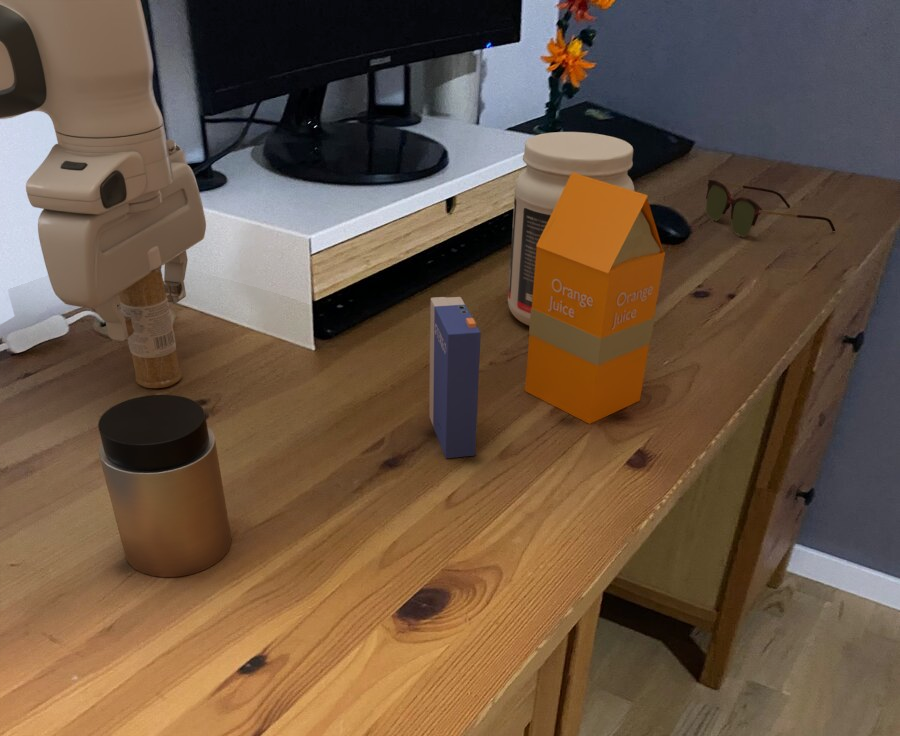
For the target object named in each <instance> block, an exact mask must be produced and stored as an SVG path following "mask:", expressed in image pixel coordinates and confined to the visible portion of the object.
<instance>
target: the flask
mask: <svg viewBox="0 0 900 736" xmlns="http://www.w3.org/2000/svg"><path fill="white" fill-rule="evenodd" d="M97 428H98V433H99V436H100V440H101V443H100V445H99V448H98V456H99V460H100V464H101V468H102V471H103V472H102V473H103V476H104V480H105V484H106V487H107V492H108V494H109V499H110V503H111V506H112V510H113V514H114V518H115V522H116V526H117V530H118V534H119V538H120V542H121V546H122V550H123V553H124V556H125V560H126V561H127V563H128V565H130V566H131V567H132V568H133V569H135V570H136V571H138V572H140V573H143V574H145V575H148V576H152V577H158V578H180V577H185V576H190V575H193V574H197V573H200V572H202V571H205V570H208V569H209V568H211V567H213V566H214V565H216V564H217V563H219V562H220V561H221V560H222V559H223V558H224V557H225V556H226V555H227V553H228V552H229V550H230V548H231V545H232V534H231V529H230V522H229V517H228V510H227V504H226V498H225V497H226V496H225V492H224V486H223V485H224V484H223V479H222V473H221V467H220V461H219V460H220V459H219V455H218V449H217V448H218V447H217V442H216V436H215V434H214V432H213V431H212V429H211V428H210V427H209V426H208V422H207V417H206V411H205V409H204V407H203V406H202V405H201V404H200V403H198V401H195V400H193V399H191V398H189V397H185V396H181V395H175V394H149V395H143V396H142V395H141V396H137V397H133V398H130V399H126V400H124V401H121V402H118V403H117V404H115V405H113V406H112V407H110V408H108V409H107V410H106V411H105V412H104V413H102V415H101V416H100V418H99V420H98V424H97Z"/></svg>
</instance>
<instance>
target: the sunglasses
mask: <svg viewBox="0 0 900 736" xmlns="http://www.w3.org/2000/svg"><path fill="white" fill-rule="evenodd" d="M706 184H707V191H706V195H705V199H706V203H705V213H706V215H707V217H708V218H709V219H710V220H711V221H714V220H715V221H714V222H717V221H719V220H720V219H721V218H722V216H723V215H725V214H726V213H727V211H728V210H729V209H731V210H730V220H731V229H732V231H733V233H734V232H736V233H738V234H739V235H741V236H742V237H741V238H744V237H747V236H748V234H749V233H750V232H751V229H752V227H755V225H756V223H757V220H758V218H759V215H761V214H763V215H774V216H783V217H790V218H797V219H798V218H800V219H810V220H811V219H812V220H821V221H826V222H828V224H829V226H830V228H831V231H832V232H833V231H835V232H836V228H835V226H834V224H833V221H832V220H831V219H830V218H828V217H824V216H817V215H807V214H806V215H805V214H793V213H786V212H779V211H772V210H766V209H765V210H764V209H763V208H762V207H761V206H760V205H759V203H757V202H756V201H755V200H753V199H751V198H749V197H737V198H735V199H734V198H733V197H732V195H731V192H730V190H729V189H728V188H727V187H732V188H733V187H734V188H739V189H747V190H754V191H760V192H765V193H771V194H775V195H777V196H778V197H779V198H780V199H781V200H782V202H783V203H784V204H785V206H786V207H787V208H788V209H790V208H791V205H790V204H789V203H788V201H787V200H786V198H785V197H784V195H782V194H781V193H780V192H778V191H775V190H772V189H768V188H763V187H757V186H750V185H749V186H748V185H743V184H735V183H729V182H721V181H717V180H714V179H708V180H707V183H706ZM711 218H712V219H711ZM713 219H714V220H713ZM736 233H734V234H735V235H736V236H737V237H740V236H739V235H737V234H736Z"/></svg>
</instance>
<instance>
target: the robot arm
mask: <svg viewBox="0 0 900 736" xmlns="http://www.w3.org/2000/svg"><path fill="white" fill-rule="evenodd" d="M142 5H143V4H142V1H141V0H0V120H8V119H13V118H15V117H18V116H19V117H20V116H22V115H24V114H27V113H30V112H31V113H32V112H40V113H44V114H46V115H47V116H48V117H49V118H50V120H51V122H52V126H53V128H54V132H55V136H56V137H55V138H56V141H57V143H55V144H54V145H53V146H52V147H51V149H50V150H49V152H48V154H47V155H46V157H45V159H44V160H43V161H42V163H40V165H39V166H38V168H37V169H36V170H35V171H34V172H32V174H31V176H29V178H28V179H27V181H26V183H25V192H26V195H27V199H28V202H29V203H30V205H31V206H32V207H33V208H37V209H42V210H41V212H40V214H39V216H38V222H37V234H38V239H39V245H40V249H41V253H42V257H43V262H44V265H45V269H46V272H47V276H48V279H49V282H50V285H51V288H52V290H53V291H52V292H53V293H54V294H55V296H56V297H57V298H58V299H59V300H60V301H61V302H62V303H64V304H65V305H68V306H73V307H78V308H88V309H93V310H94V311H95V313H97V315H98V316H99V317H100V318H101V319H102V320H103V321H104V323H105V327H106V331H107V335H108V337H109V338H110V339H111V340H113V341H119V342H125V341H126V340H128V339H127V338H129V337H130V336H131V335H133V333H134V329H133V328H132V320H131V317H126V316H123V314H122V311H121V309H120V308H119V306H120V304H121V301H120V296H119V293H120V292H122V291H124V290H125V289H127V288H128V287H130V286H131V285H133V284H134V283H136V282H138V281H139V280H141V279H142V278H144V277H145V276H147V275H148V274H150V273H151V272H152V271H150V264H149V259H148V251H149V250H150V249H151V248H153V247H155V246H158V248H159V252H160V258H161V262H162V263H161V265H160V266H161V267H163V266H164V271H163V272H164V273H163V274H164V275H163V276H164V277H163V282H164V288H165V292H166V296H167V299H168V303H174V304H177V303H179V302H181V301H182V300H183V299H185V298H186V296H187V291H186V287H185V279H186V272H187V266H188V254H187V250H189V249H191V248H193V247H194V246H195V245H197V244H198V243H200V242H202V241H203V240H204V239H205V235H206V230H207V221H206V216H205V210H204V207H203V201H202V197H201V193H200V189H199V186H198V183H197V179H196V176H195V173H194V171H193V169H192V167H191V166H190V165H188V162H187V161H188V160H187V156H186V153H185V151H184V150H183V149H182V147H181V146H180V145H179V144H178V143H176V142H175V141H174V140H173V139H167V134H166V129H165V127H166V126H165V123H164V117H163V115H162V112H161V110H160V107H159V105H158V103H157V100H156V96H155V92H154V84H153V79H154V78H153V77H154V76H153V75H154V58H153V52H152V46H151V42H150V36H149V32H148V26H147V23H146V17H145V14H144V9H143V6H142ZM160 266H159V267H160Z"/></svg>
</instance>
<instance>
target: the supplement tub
mask: <svg viewBox="0 0 900 736" xmlns="http://www.w3.org/2000/svg"><path fill="white" fill-rule="evenodd" d="M523 152H524V153H523V155H522V161H523V163H524V164H525V165H526V168H525V169H524V170H523V171H522V172H521V173H520V174H519V176H518V177H517V179H516V182H515V185H514V186H515V187H514V199H513V215H512V227H511V228H512V231H511V244H510V245H511V247H510V263H509V279H508V294H507V295H508V296H507V304H508V308H509V311H510V312H511V314H512V315H513V317H514V318H515V319H516V320H518V321H519V322H521V323H522V324H524V325H526V326H528V327H530V315H531V308H532V298H533V286H534V274H535V262H536V250H537V246H536V245H537V243H538V241H539V239H540V237H541V235H542V233H543V231H544V229H545V227H546V225H547V222H548V220H549V218H550V216H551V214H552V212H553V210H554V208H555V206H556V204H557V202H558V200H559V198H560V196H561V194H562V192H563V190H564V188H565V186H566V184H567V182H568V180H569V178H570V176H571V173H572V172H573V173H576V174H580V175H583V176H586V177H589V178H593V179H596V180H599V181H602V182H606V183H609V184H612V185H616V186H619V187H622V188H625V189H629V190H632V191H635V192H636V190H635V185H634V182H633V180H632V178H631V177H630V176H629V174H628V171H630V170H631V169H632V167H633V164H634V162H633V158H634V157H633V156H634V148H633V145H631V144H630V143H629V142H627V141H626V140H624V139H621V138H619V137H615V136H610V135H605V134H599V133H593V132H583V131H582V132H581V131H557V132H546V133H540V134H536V135H533V136H531V137H529V138H528V139H527V140H526V141H525V143H524V151H523Z"/></svg>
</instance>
